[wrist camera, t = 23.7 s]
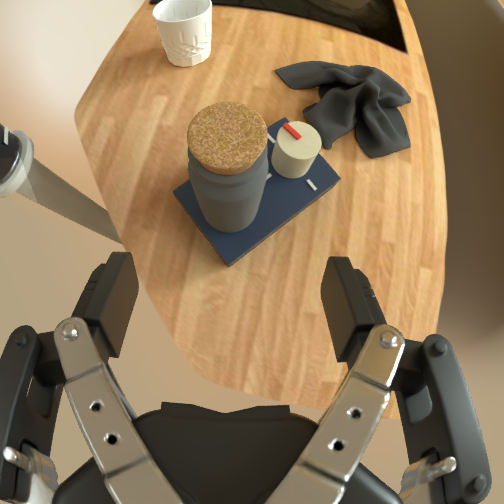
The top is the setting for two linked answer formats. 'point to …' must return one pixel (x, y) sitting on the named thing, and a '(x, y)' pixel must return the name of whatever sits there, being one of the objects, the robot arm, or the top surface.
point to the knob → (295, 149)
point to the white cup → (184, 30)
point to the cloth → (353, 104)
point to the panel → (263, 204)
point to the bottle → (228, 164)
